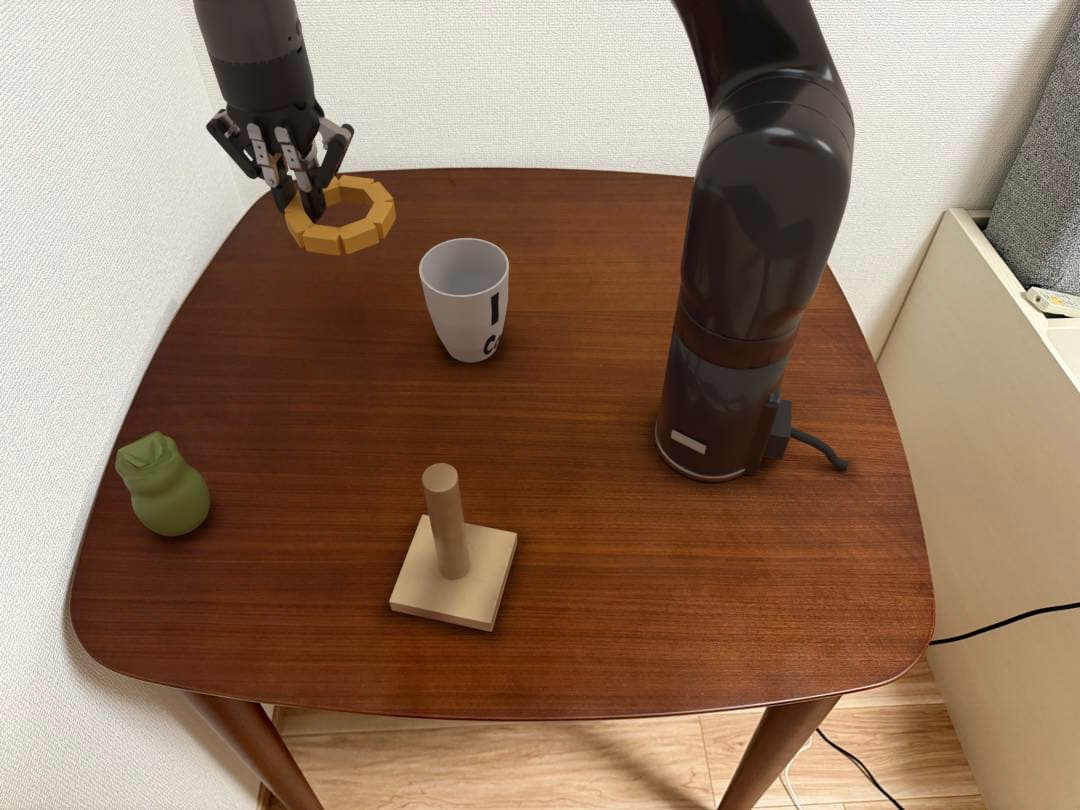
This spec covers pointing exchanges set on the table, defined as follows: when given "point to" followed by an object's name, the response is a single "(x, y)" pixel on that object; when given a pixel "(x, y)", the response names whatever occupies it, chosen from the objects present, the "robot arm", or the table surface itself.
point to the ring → (351, 234)
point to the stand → (453, 560)
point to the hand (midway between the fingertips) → (304, 215)
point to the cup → (466, 295)
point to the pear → (163, 485)
